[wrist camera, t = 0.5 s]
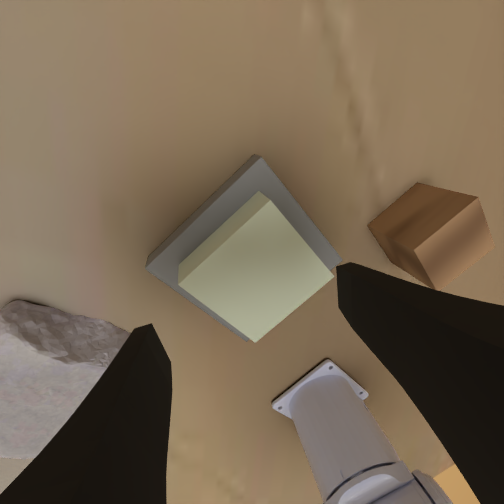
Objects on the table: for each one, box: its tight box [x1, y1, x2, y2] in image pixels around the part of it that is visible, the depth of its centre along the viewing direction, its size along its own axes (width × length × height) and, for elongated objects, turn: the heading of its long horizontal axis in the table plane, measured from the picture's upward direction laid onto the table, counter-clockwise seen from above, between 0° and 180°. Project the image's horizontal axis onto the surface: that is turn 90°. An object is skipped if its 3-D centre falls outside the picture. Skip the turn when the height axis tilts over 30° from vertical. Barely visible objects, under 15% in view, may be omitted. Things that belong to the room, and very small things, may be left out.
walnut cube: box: [367, 183, 495, 291], centre depth 20 cm, size 5×5×5 cm
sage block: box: [178, 191, 334, 343], centre depth 17 cm, size 7×7×2 cm
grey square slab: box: [145, 154, 342, 342], centre depth 19 cm, size 10×10×2 cm
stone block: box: [0, 300, 130, 459], centre depth 19 cm, size 12×5×10 cm
